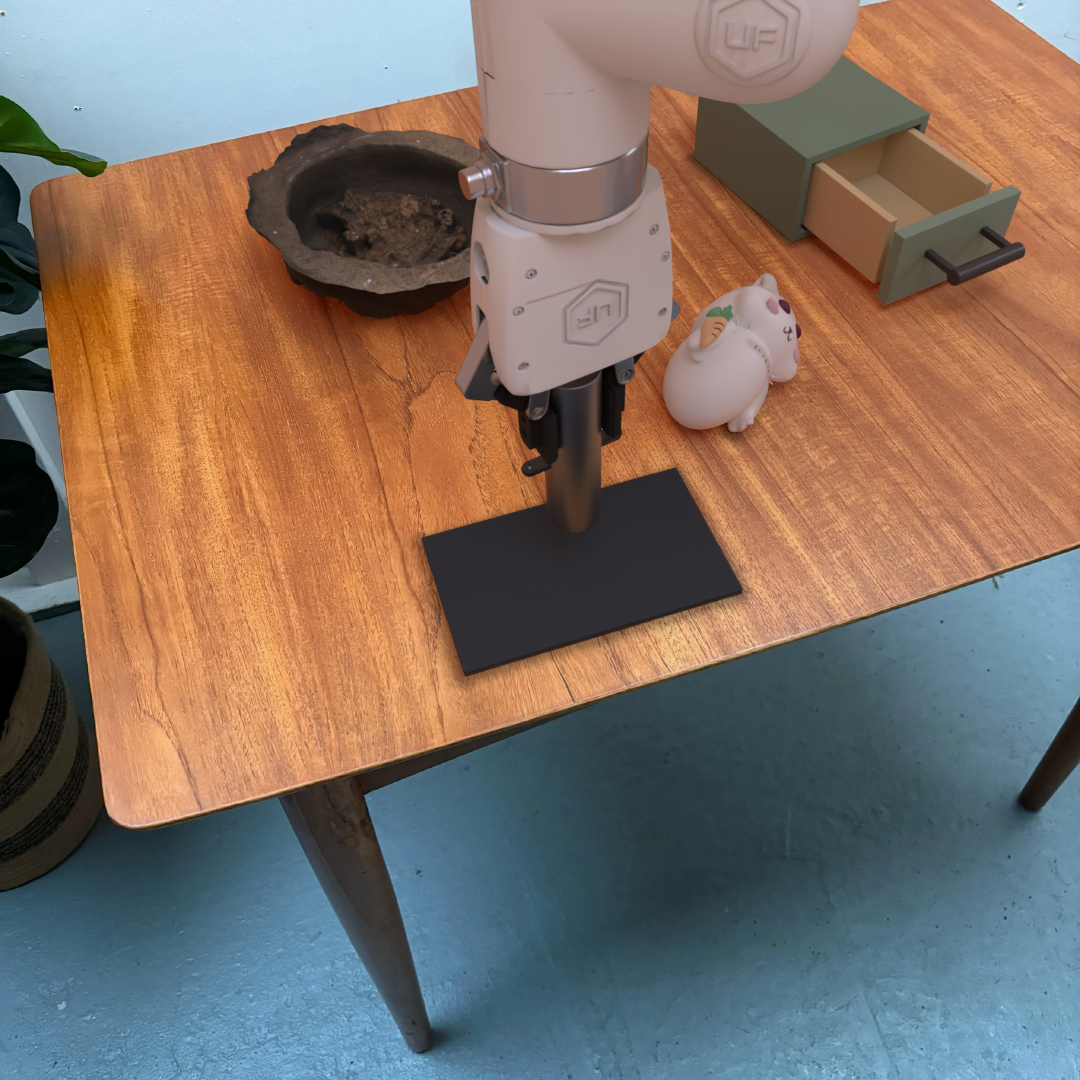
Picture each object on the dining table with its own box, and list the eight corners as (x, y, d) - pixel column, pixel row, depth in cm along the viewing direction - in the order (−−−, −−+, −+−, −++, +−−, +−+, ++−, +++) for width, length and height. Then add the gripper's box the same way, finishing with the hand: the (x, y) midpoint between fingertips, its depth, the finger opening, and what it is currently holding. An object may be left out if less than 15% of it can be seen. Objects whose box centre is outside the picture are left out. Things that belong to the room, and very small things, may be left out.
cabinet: (907, 197, 97) (930, 113, 90) (791, 242, 94) (806, 158, 87) (802, 119, 106) (816, 37, 100) (693, 157, 103) (699, 75, 96)
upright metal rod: (605, 474, 69) (607, 327, 59) (633, 509, 67) (640, 363, 57) (514, 514, 67) (500, 368, 57) (540, 551, 65) (529, 408, 55)
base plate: (675, 471, 77) (676, 466, 77) (742, 593, 70) (743, 588, 70) (422, 542, 74) (421, 537, 74) (464, 677, 67) (463, 672, 67)
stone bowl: (212, 266, 95) (186, 175, 88) (422, 175, 106) (414, 87, 99) (367, 394, 83) (351, 299, 76) (586, 276, 94) (590, 183, 87)
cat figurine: (693, 365, 71) (794, 233, 76) (613, 368, 77) (712, 246, 83) (749, 463, 76) (840, 332, 81) (670, 459, 82) (759, 338, 88)
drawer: (1032, 285, 87) (1060, 217, 82) (919, 334, 84) (941, 267, 79) (882, 174, 98) (898, 108, 93) (777, 214, 95) (787, 148, 90)
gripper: (436, 262, 43) (476, 530, 57) (761, 147, 47) (722, 424, 61) (370, 175, 47) (423, 446, 61) (674, 77, 51) (656, 352, 66)
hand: (572, 433), depth 61 cm, fingers closed on upright metal rod, 3 cm apart
